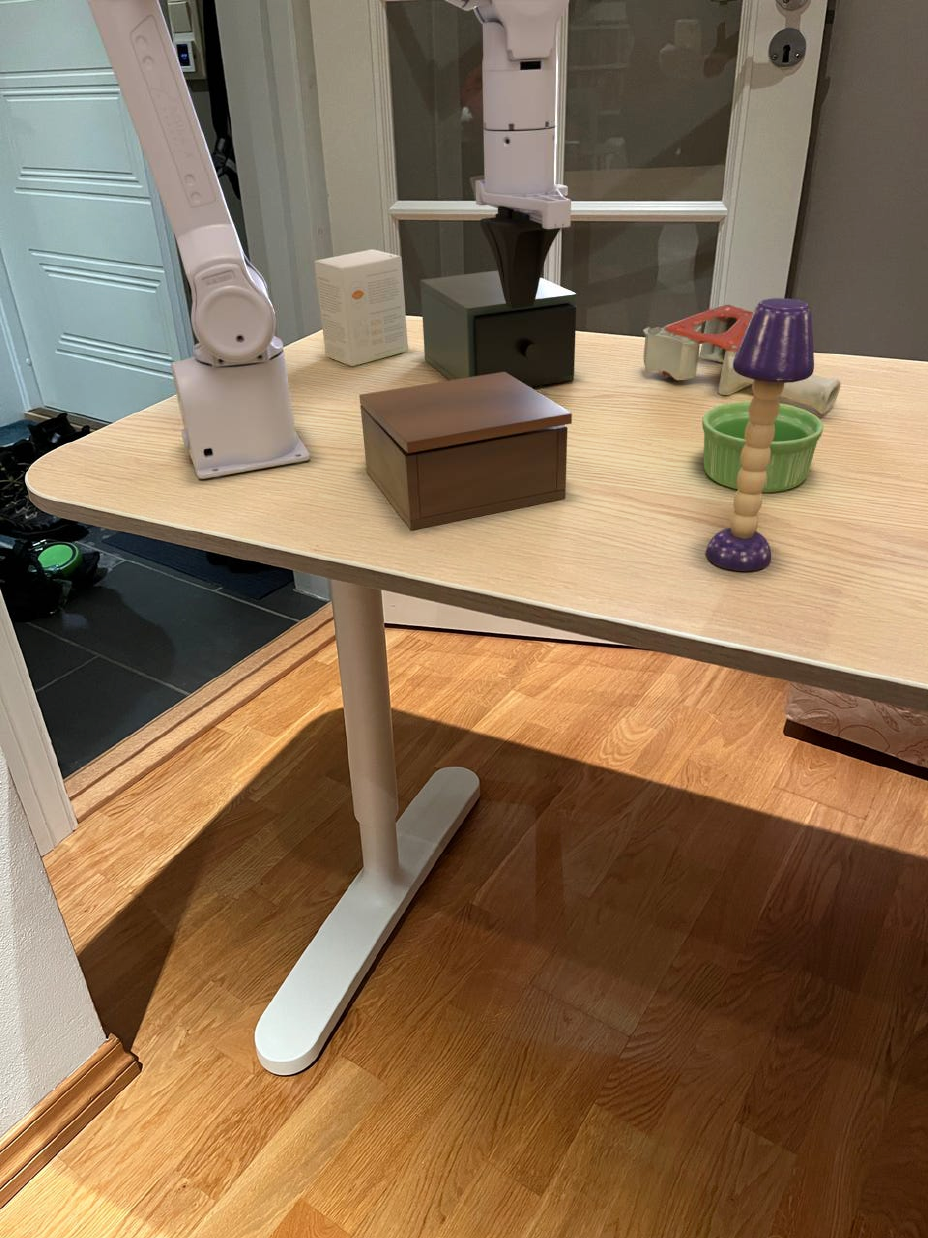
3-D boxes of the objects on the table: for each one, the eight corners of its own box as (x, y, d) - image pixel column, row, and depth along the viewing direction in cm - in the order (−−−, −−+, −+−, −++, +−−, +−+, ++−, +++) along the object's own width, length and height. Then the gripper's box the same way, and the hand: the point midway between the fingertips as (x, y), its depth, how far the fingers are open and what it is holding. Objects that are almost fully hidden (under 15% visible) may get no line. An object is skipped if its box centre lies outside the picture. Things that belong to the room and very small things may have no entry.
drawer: (579, 378, 91) (582, 309, 87) (484, 394, 88) (482, 323, 84) (523, 343, 101) (523, 280, 98) (436, 356, 98) (433, 292, 95)
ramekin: (697, 448, 77) (702, 398, 74) (808, 454, 75) (817, 402, 73) (696, 493, 70) (702, 439, 67) (819, 500, 68) (830, 445, 65)
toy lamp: (728, 533, 64) (762, 289, 55) (791, 553, 61) (838, 299, 52) (694, 559, 61) (724, 305, 52) (759, 581, 58) (803, 317, 49)
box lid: (571, 423, 66) (572, 412, 65) (407, 453, 62) (406, 442, 62) (505, 380, 76) (504, 371, 75) (360, 404, 72) (359, 394, 72)
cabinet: (574, 379, 93) (576, 293, 88) (469, 397, 90) (466, 308, 85) (519, 345, 104) (519, 267, 99) (424, 360, 101) (420, 279, 96)
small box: (381, 342, 107) (373, 248, 101) (409, 352, 103) (403, 254, 98) (324, 356, 103) (312, 259, 97) (351, 367, 99) (340, 267, 94)
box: (565, 498, 70) (567, 426, 66) (410, 530, 66) (405, 456, 63) (505, 446, 79) (505, 381, 76) (366, 472, 75) (360, 404, 72)
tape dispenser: (840, 434, 82) (796, 354, 98) (855, 378, 79) (808, 305, 95) (644, 425, 83) (633, 347, 99) (652, 369, 80) (639, 299, 96)
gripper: (610, 130, 66) (601, 319, 74) (527, 118, 78) (527, 283, 85) (522, 137, 64) (522, 330, 72) (450, 124, 76) (457, 292, 83)
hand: (519, 305), depth 78 cm, fingers closed
